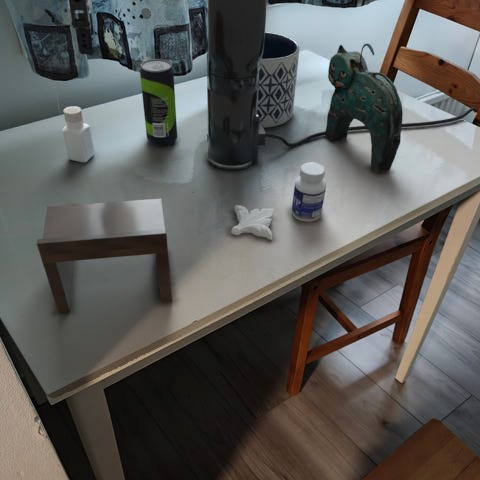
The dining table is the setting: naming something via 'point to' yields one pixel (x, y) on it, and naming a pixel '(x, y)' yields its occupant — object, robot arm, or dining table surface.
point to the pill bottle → (309, 192)
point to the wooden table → (102, 240)
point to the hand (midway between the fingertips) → (87, 43)
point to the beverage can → (159, 101)
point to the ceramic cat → (364, 106)
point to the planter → (277, 79)
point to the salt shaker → (77, 135)
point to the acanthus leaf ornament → (253, 221)
